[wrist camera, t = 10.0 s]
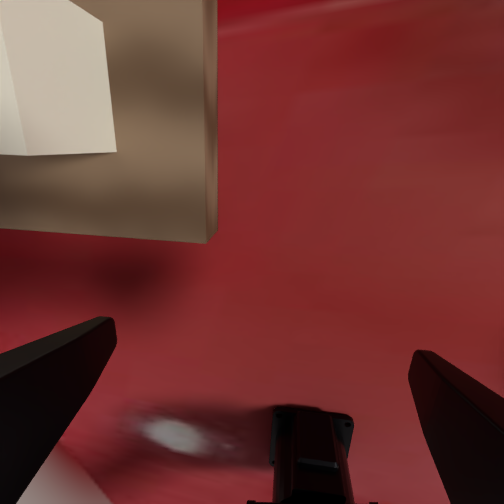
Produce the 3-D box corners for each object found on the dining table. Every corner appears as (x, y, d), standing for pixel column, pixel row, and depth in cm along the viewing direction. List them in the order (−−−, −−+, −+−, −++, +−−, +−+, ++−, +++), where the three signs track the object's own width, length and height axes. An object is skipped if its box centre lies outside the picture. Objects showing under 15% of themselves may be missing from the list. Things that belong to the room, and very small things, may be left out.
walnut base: (217, 230, 21) (206, 243, 18) (6, 215, 22) (-36, 225, 19) (217, -76, 15) (200, -126, 12) (-63, -65, 17) (-134, -107, 14)
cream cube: (116, 152, 17) (28, 155, 11) (17, 147, 17) (-114, 148, 12) (102, 22, 15) (-16, -55, 9) (-10, 22, 15) (-185, -50, 10)
